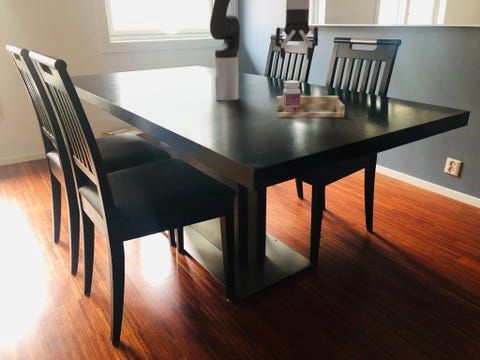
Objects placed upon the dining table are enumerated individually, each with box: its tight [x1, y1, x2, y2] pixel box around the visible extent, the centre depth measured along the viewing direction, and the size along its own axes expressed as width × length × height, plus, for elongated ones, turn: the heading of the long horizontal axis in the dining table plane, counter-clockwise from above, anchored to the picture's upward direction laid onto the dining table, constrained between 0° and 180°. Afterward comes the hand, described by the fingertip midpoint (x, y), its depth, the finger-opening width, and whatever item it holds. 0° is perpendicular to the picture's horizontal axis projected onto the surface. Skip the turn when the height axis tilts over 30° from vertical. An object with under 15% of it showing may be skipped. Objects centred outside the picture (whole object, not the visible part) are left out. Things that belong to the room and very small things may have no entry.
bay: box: [275, 95, 346, 118], centre depth 139 cm, size 23×13×5 cm, turn 88°
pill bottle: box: [282, 80, 301, 112], centre depth 139 cm, size 6×6×11 cm
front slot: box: [307, 110, 334, 112], centre depth 140 cm, size 9×9×1 cm
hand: (295, 59), depth 135 cm, fingers open, 8 cm apart
